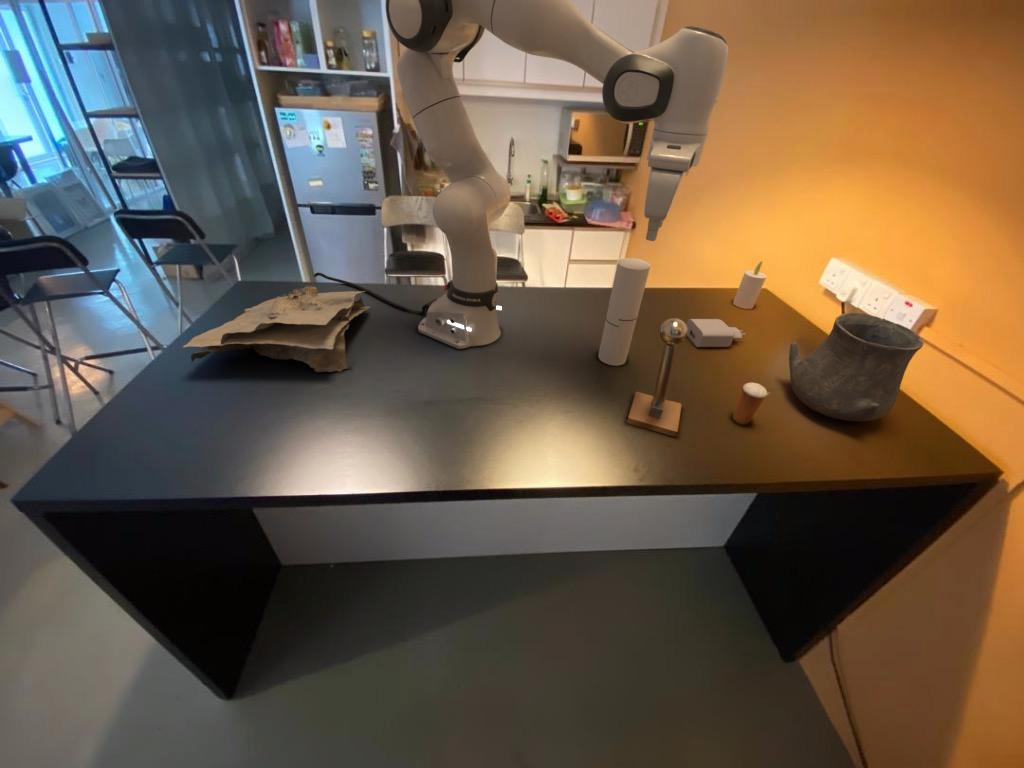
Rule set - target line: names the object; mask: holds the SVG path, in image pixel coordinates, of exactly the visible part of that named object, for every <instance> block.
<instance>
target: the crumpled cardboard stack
mask: <svg viewBox="0 0 1024 768" xmlns="http://www.w3.org/2000/svg"><path fill="white" fill-rule="evenodd" d="M362 293H366V292H365V291H362V290H360V291H353V290H350V291H330V292H320V291H318V287H316V286H311V285H307V286H305V287H303V288H296V289H292V291H290V292H289V293H287V295H286V293H284V294H283V295H282V293H281V294H280V296H279V295H278V296H277V297H275V298H271V299H268V300H265V301H262V302H261V303H259V304H257V305H254V306H252V307H249V308H245V309H244V313H241V315H239V316H237V317H235V318H234V319H233V320H229V321H227V322H224V323H223V324H222V325H221V326H217V327H215V328H212V329H209V330H207V331H206V332H203V333H200V334H199V335H195V336H194V337H192V338H191V340H189V341H188V342H187V343H186V344H184V345H183V346H182V348H190V347H193V348H195V347H198V348H201V349H199V350H197V351H196V352H193V353H192V354H191V355H190V359H191V361H190V364H192V363H193V362H194V361H195V360H196V359H203V358H205V357H206V356H208V355H211V354H212V353H213V354H215V355H218V354H222V353H224V352H226V351H232V350H234V351H238V350H241V349H243V350H244V349H246V350H247V349H252V348H253V349H254V352H256V353H258V354H259V356H264V357H265V356H266V357H267V358H270V359H272V360H291V359H292V360H295V361H299V362H303V363H305V364H307V365H308V366H309V368H311V369H314V372H317V373H322V372H328V373H333V372H342V371H343V370H345V369H349V365H348V358H347V352H346V339H345V331H346V330H348V329H349V327H350V322H351V321H352V320H353V319H354V318H355V317H358V316H359V315H360V314H362V313H363V312H365V311H366V310H369V308H370V306H365V304H364V302H363V301H364V300H363V298H362V297H361V296H360V297H359V298H358V299H355V298H356V297H355V296H356V295H359V294H362ZM202 347H203V348H202Z"/></svg>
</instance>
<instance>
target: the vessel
mask: <svg viewBox="0 0 1024 768" xmlns="http://www.w3.org/2000/svg"><path fill="white" fill-rule="evenodd" d="M924 345H925V343H924V341H923V338H922V337H921V336H920V335H918V334H917V333H916V332H914V330H911V329H910V328H909V327H907V326H904V325H901V324H899V323H896V322H893V321H890V320H888V319H886V318H881V317H879V316H875V315H872V314H867V313H860V312H845V313H842V314H839V315H837V317H836V318H835V319H834V322H833V325H832V329H831V331H830V333H829V334H828V335H827V336H826V338H825V339H824V340H823V341H822V342H821V343H820V344H819V345H818V346H817V347H815V349H813V350H812V351H811V352H810V353H809V354H807V355H806V356H805V357H803V358H801V357H800V356H799V351H798V344H797V342H796V341H792V342H791V343H790V347H789V355H788V363H789V381H790V384H791V388H792V390H793V393H794V394H795V396H796V397H797V398H798V400H799V401H800V402H801V403H802V404H803V405H805V406H806V407H807V408H809V409H811V410H813V412H816V413H818V414H820V415H823V416H825V417H829V418H832V419H836V420H841V421H845V422H871V421H876V420H878V419H881V418H882V417H884V416H886V415H887V414H888V413H890V412H891V410H892V409H893V408H894V407H895V403H896V401H897V399H898V394H899V393H900V389H901V385H902V382H903V378H904V376H905V372H906V370H907V368H908V366H909V364H910V362H911V361H912V359H913V358H914V356H915V355H916V353H917V352H918V351H919V350H921V349H922V348H923V346H924Z"/></svg>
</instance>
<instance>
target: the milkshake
mask: <svg viewBox="0 0 1024 768" xmlns="http://www.w3.org/2000/svg"><path fill="white" fill-rule="evenodd" d="M774 390H776V387H774V388H772V389H771V390H770V391H767V389H766V388H765V386H763V385H762V384H760V383H757V382H751V381H750V382H747V383H744V384H743V386H742V389H741V392H740V395H739V398H738V400H737V403H736V406H735V409H734V411H733V414H732V419H733V421H734V422H735V423H737V424H739V425H748V424H749V423H750V421H751V420H752V419H753V417H754V415H755V414H756V412H757V411H758V409H759V407H760V406H761V404H762V403H763V402H764V400H765V399H766V397H767V396H768V395H769V394H770V393H772V392H773V391H774Z"/></svg>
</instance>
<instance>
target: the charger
mask: <svg viewBox="0 0 1024 768" xmlns="http://www.w3.org/2000/svg"><path fill="white" fill-rule="evenodd" d="M686 326H687V329H688V333H687V336H686V337H687V338H688V339H689V340H690V341H691V342H692V344H693V345H694V346H695V347H696V348H729V347H730V346H731V345H732V343H733V341H734V340H741V339H743V336H746V335H747V333H745V332H743V331H744V330H742V329H739V328H737V327H736V326H728V324H726V323H725V322H724V320H721V319H720V318H689V319H687V322H686Z"/></svg>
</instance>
